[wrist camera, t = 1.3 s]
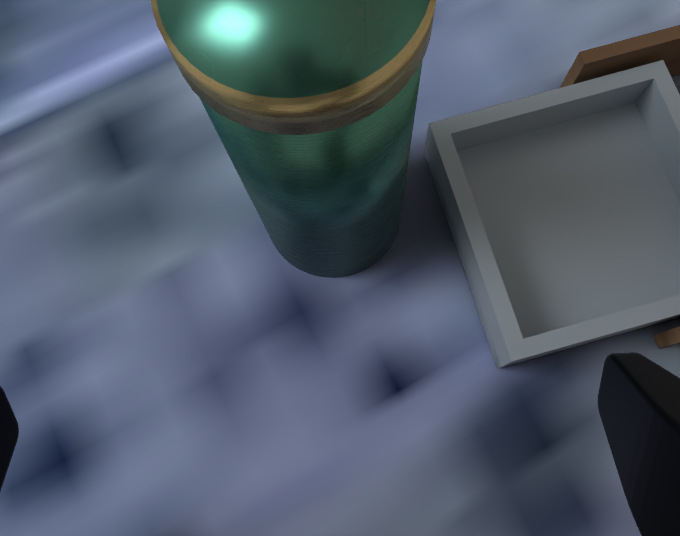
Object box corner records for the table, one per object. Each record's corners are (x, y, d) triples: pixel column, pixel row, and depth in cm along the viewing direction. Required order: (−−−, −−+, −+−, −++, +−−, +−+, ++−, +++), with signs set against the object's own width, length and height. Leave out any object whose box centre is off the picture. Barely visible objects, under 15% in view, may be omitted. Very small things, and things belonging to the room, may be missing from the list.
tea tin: (420, 258, 24) (478, 57, 11) (282, 296, 23) (181, 137, 11) (380, 133, 25) (391, -172, 12) (249, 168, 25) (127, -103, 12)
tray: (731, 302, 22) (770, 288, 20) (497, 368, 22) (511, 361, 20) (636, 93, 25) (663, 59, 23) (423, 151, 24) (429, 123, 22)
